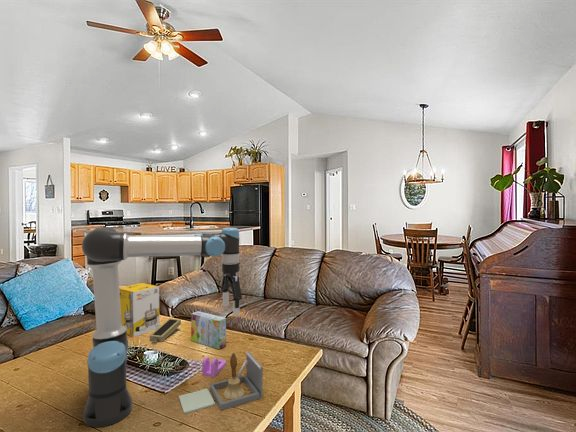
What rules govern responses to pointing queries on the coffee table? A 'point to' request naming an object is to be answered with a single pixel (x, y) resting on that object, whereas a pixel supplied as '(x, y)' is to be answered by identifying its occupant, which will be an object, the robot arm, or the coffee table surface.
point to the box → (164, 330)
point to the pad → (196, 400)
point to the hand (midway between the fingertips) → (230, 310)
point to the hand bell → (233, 382)
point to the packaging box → (139, 308)
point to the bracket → (212, 366)
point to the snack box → (208, 329)
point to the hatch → (251, 379)
